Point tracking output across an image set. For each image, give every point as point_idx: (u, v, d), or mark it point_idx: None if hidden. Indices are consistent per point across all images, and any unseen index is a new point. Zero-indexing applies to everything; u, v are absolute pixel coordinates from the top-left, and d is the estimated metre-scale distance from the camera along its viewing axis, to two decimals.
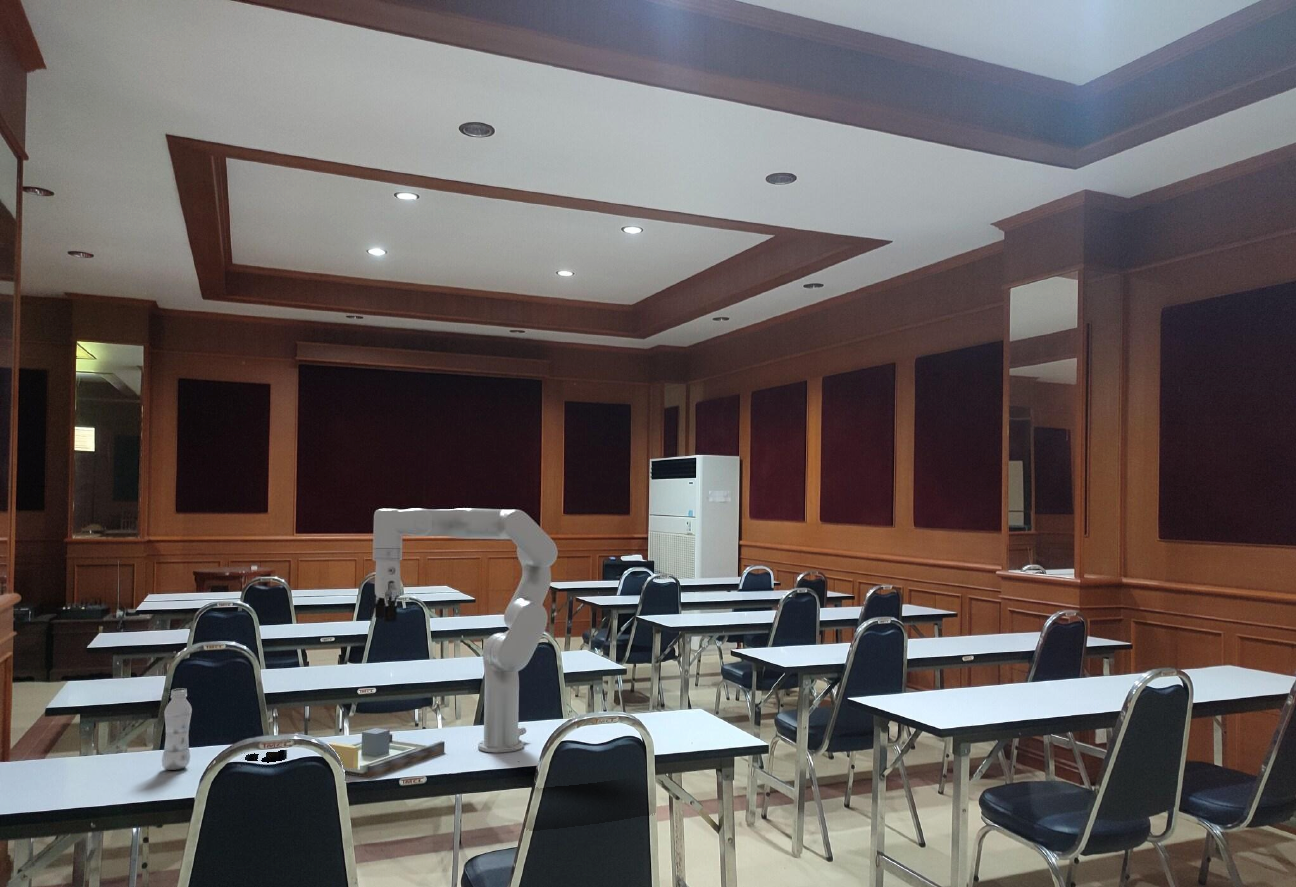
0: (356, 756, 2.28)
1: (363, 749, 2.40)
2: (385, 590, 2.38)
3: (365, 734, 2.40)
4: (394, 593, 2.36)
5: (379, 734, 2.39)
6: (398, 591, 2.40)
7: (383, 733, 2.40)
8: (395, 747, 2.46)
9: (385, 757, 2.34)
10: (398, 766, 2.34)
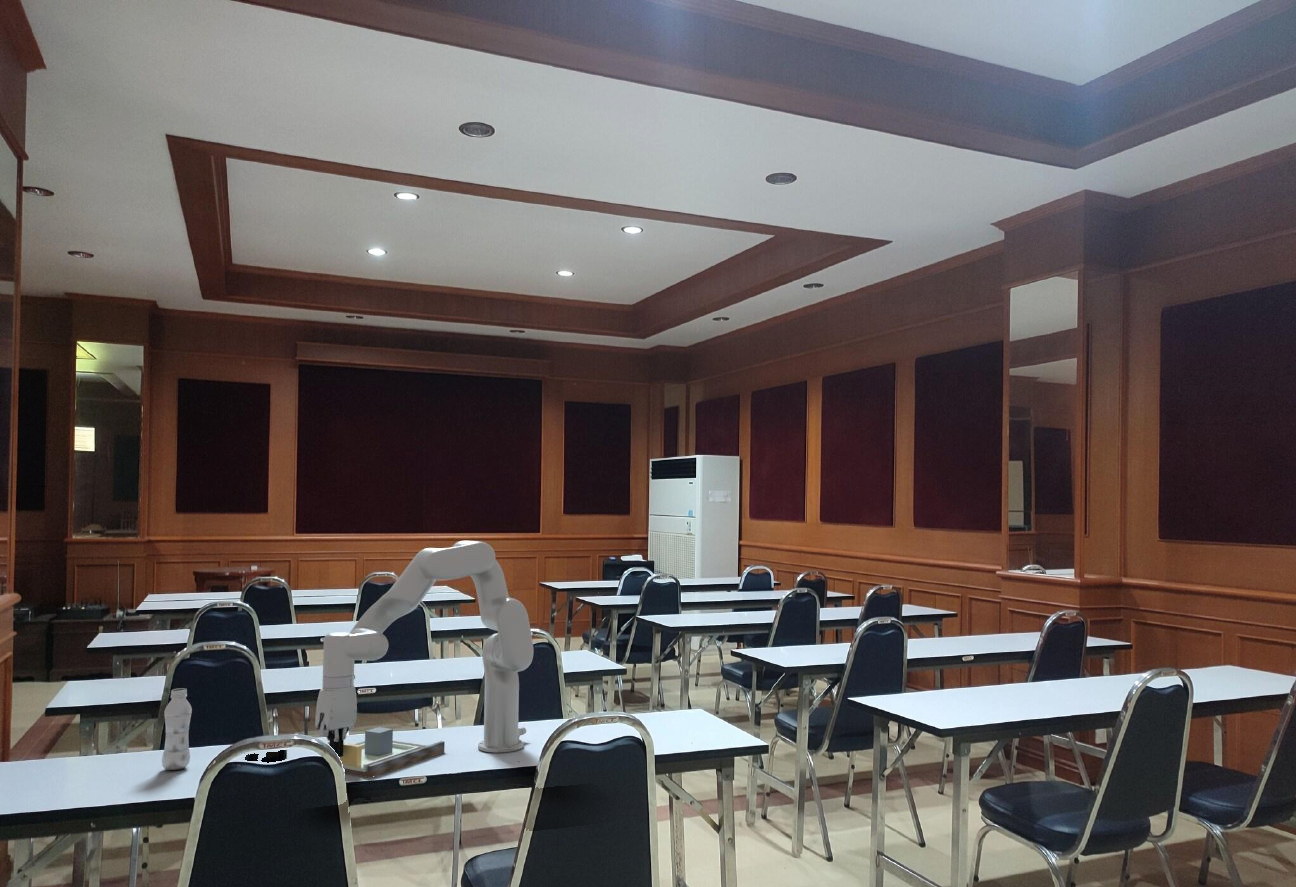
0: (359, 755, 2.29)
1: (366, 748, 2.41)
2: None
3: (369, 733, 2.41)
4: None
5: (382, 733, 2.40)
6: None
7: (386, 732, 2.42)
8: (398, 746, 2.47)
9: (388, 756, 2.35)
10: (398, 766, 2.34)
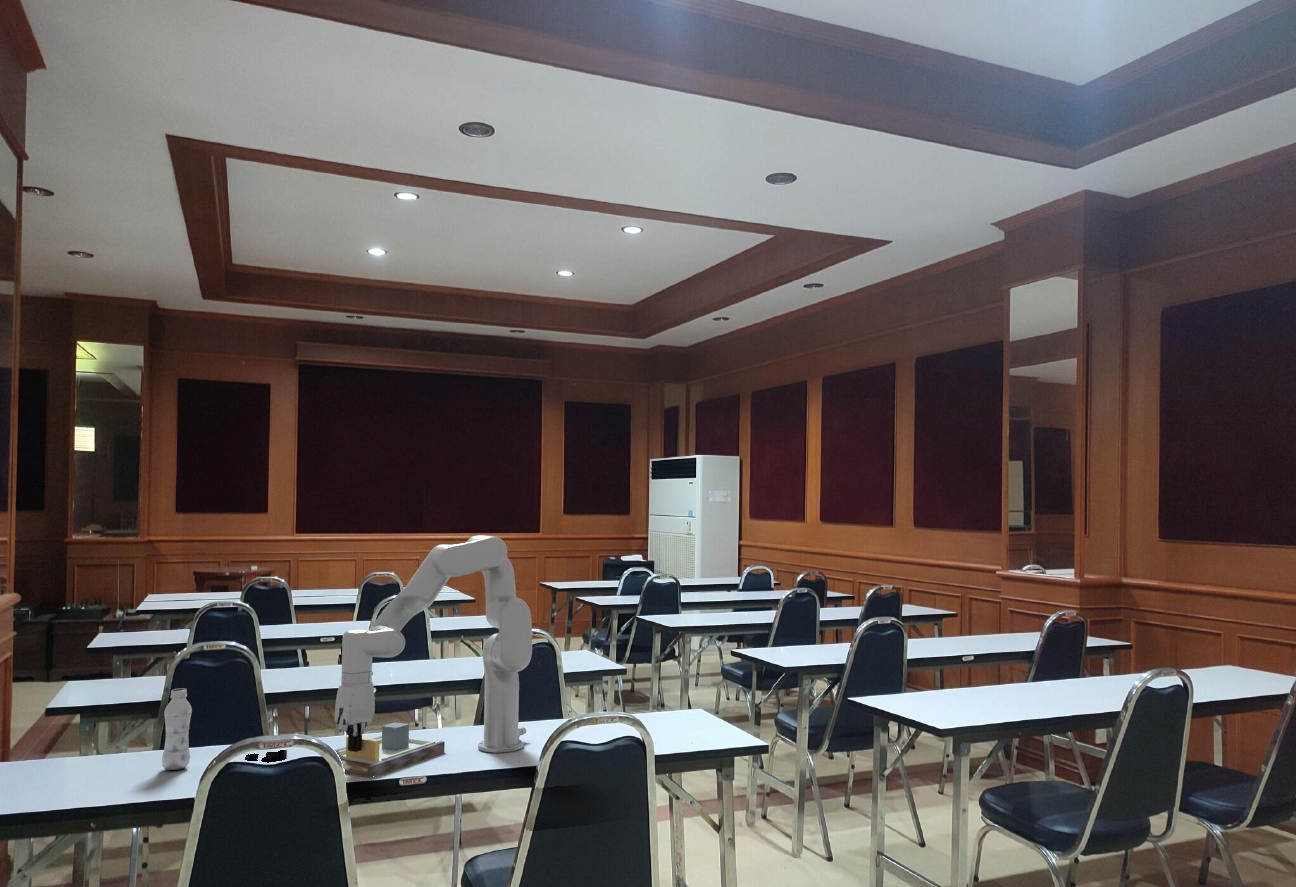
0: (377, 749, 2.35)
1: (383, 743, 2.46)
2: None
3: (386, 728, 2.46)
4: None
5: (399, 728, 2.46)
6: None
7: (403, 727, 2.47)
8: (414, 741, 2.53)
9: (405, 750, 2.40)
10: (398, 766, 2.34)
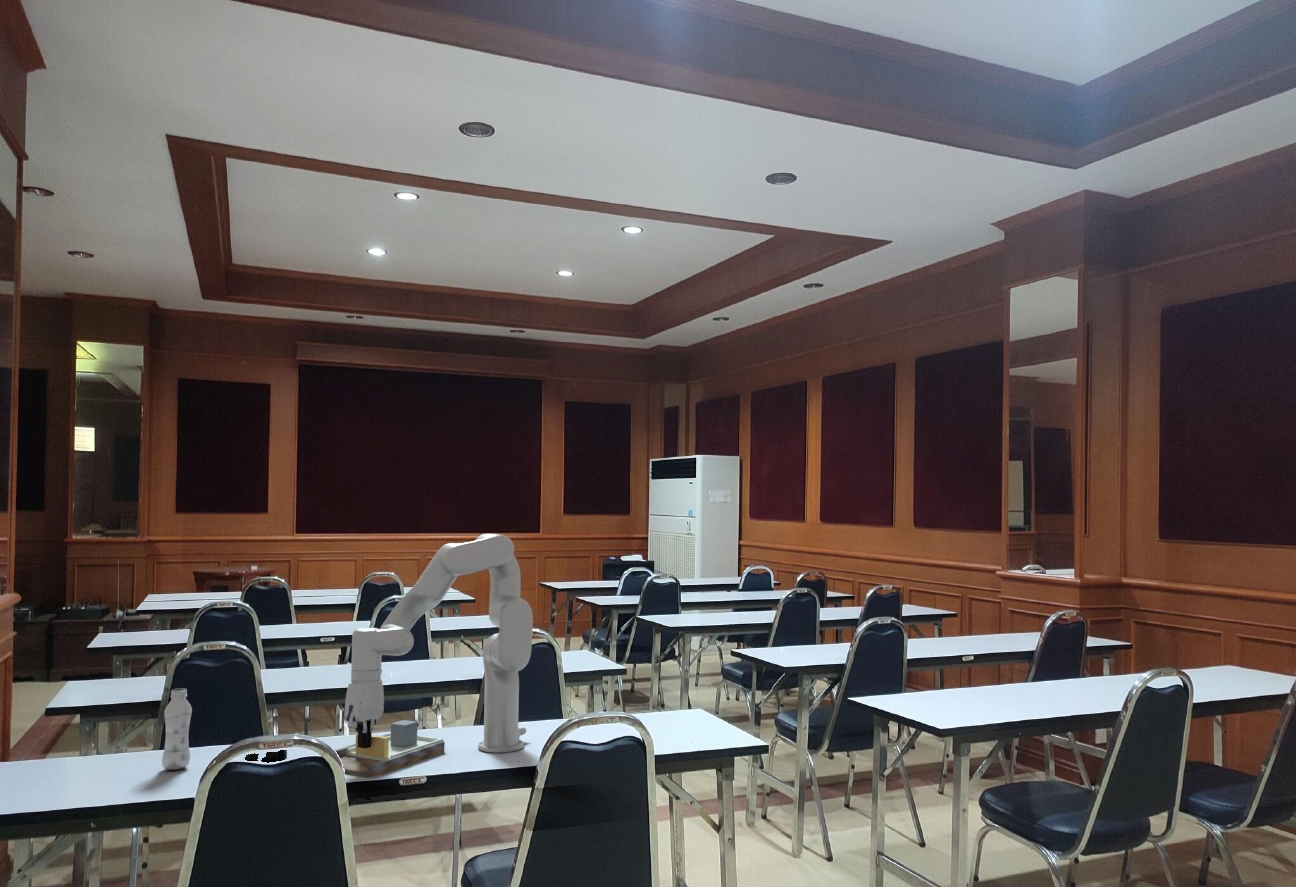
0: (387, 746, 2.38)
1: (392, 740, 2.49)
2: None
3: (394, 726, 2.49)
4: None
5: (407, 725, 2.49)
6: None
7: (411, 725, 2.50)
8: (422, 738, 2.56)
9: (414, 747, 2.43)
10: (398, 766, 2.34)
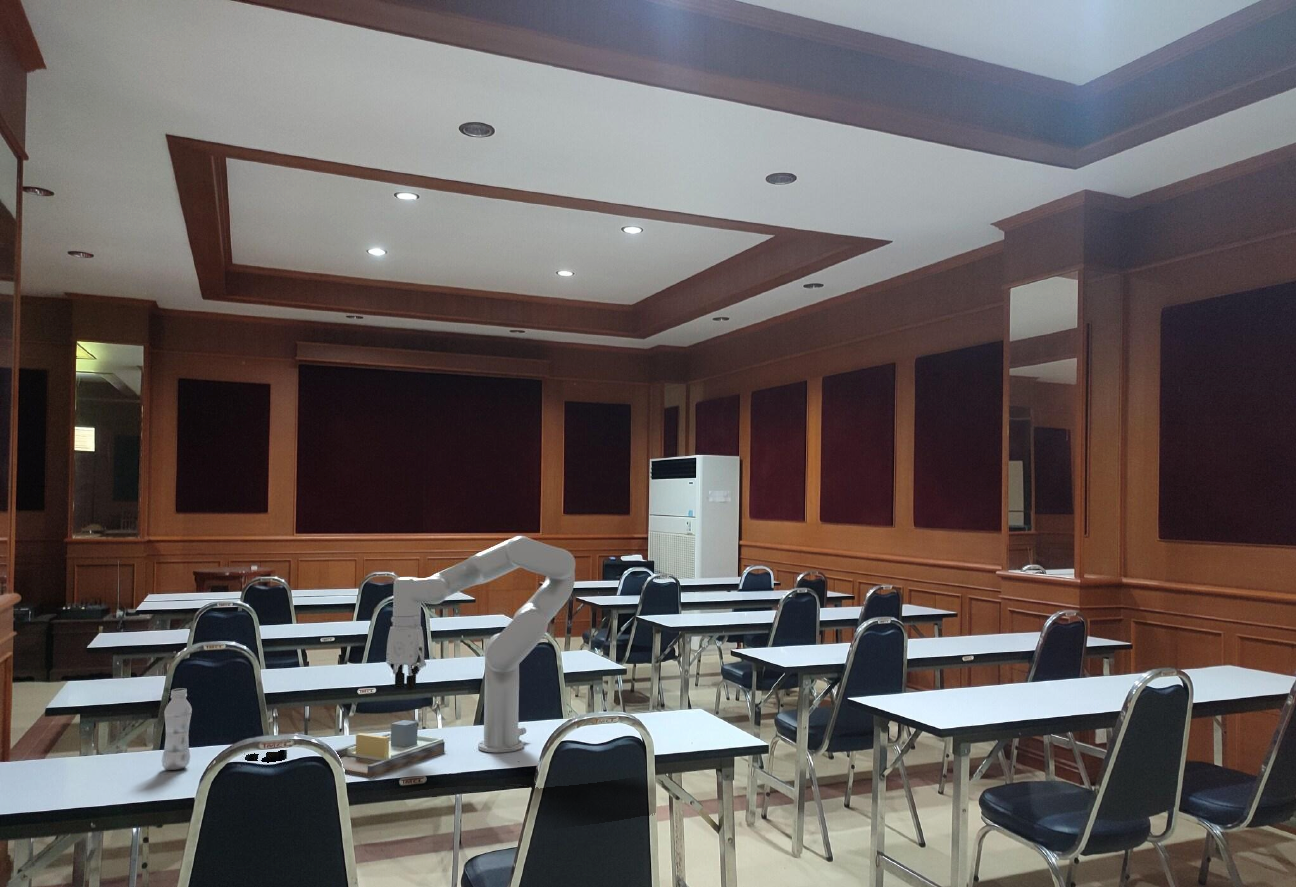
0: (387, 746, 2.38)
1: (392, 740, 2.50)
2: None
3: (395, 726, 2.50)
4: None
5: (407, 725, 2.49)
6: None
7: (411, 725, 2.50)
8: (422, 738, 2.56)
9: (414, 747, 2.44)
10: (398, 766, 2.34)
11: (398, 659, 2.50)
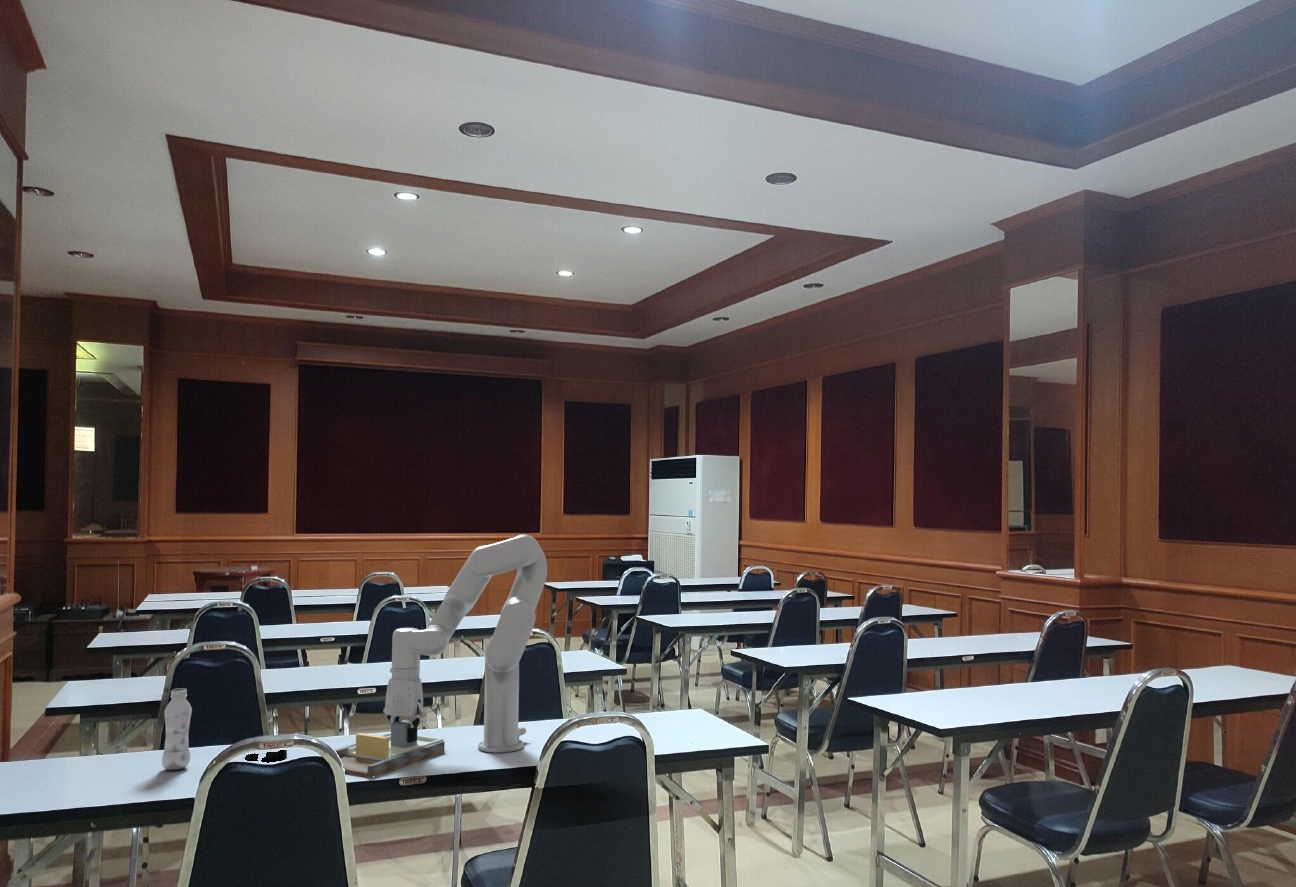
0: (387, 746, 2.38)
1: (392, 740, 2.50)
2: None
3: (395, 726, 2.50)
4: None
5: (407, 725, 2.49)
6: None
7: None
8: (422, 738, 2.56)
9: (414, 747, 2.44)
10: (398, 766, 2.34)
11: (397, 711, 2.49)
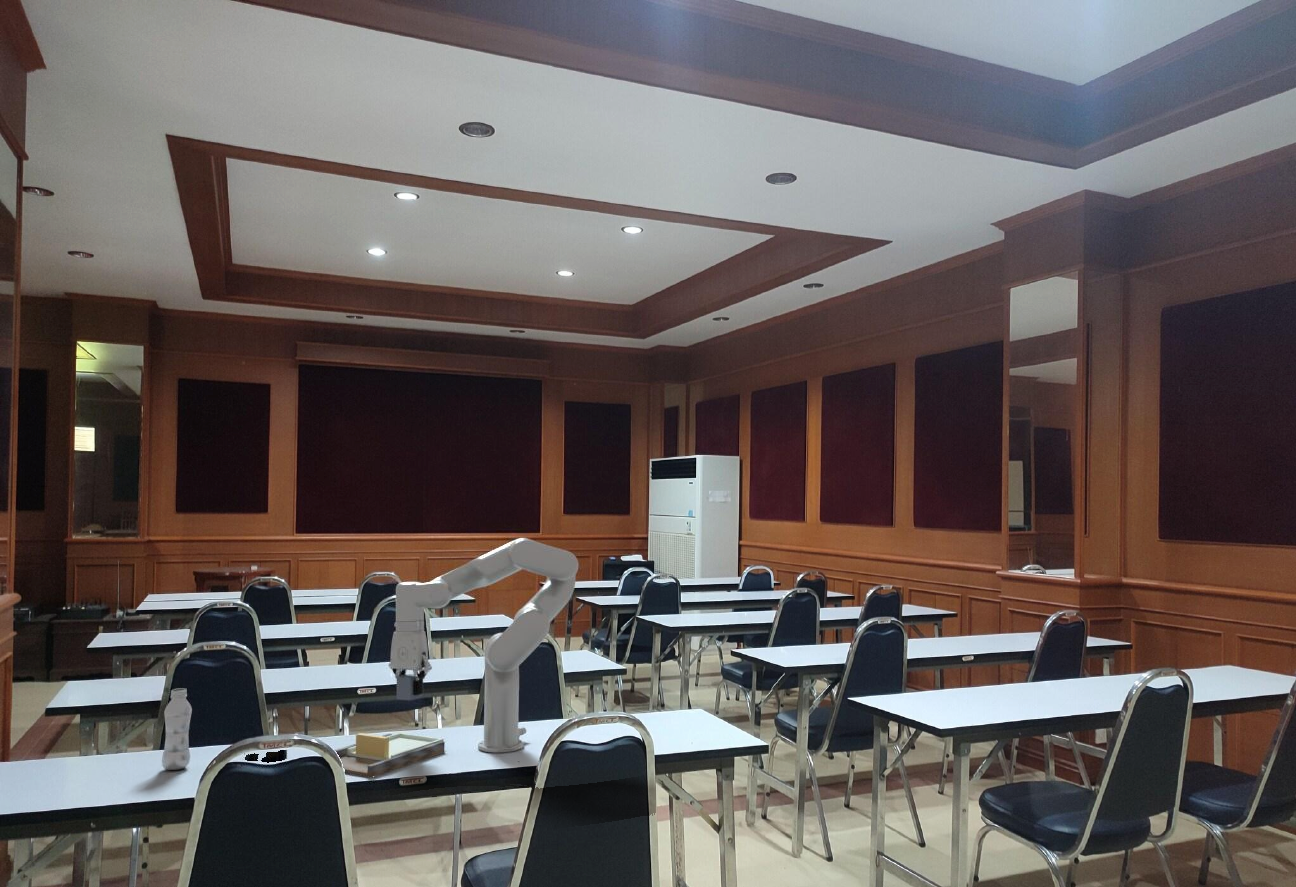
0: (387, 746, 2.38)
1: (398, 693, 2.50)
2: None
3: (400, 679, 2.50)
4: None
5: (413, 678, 2.49)
6: None
7: None
8: (422, 738, 2.56)
9: (414, 747, 2.44)
10: (398, 766, 2.34)
11: (402, 664, 2.49)
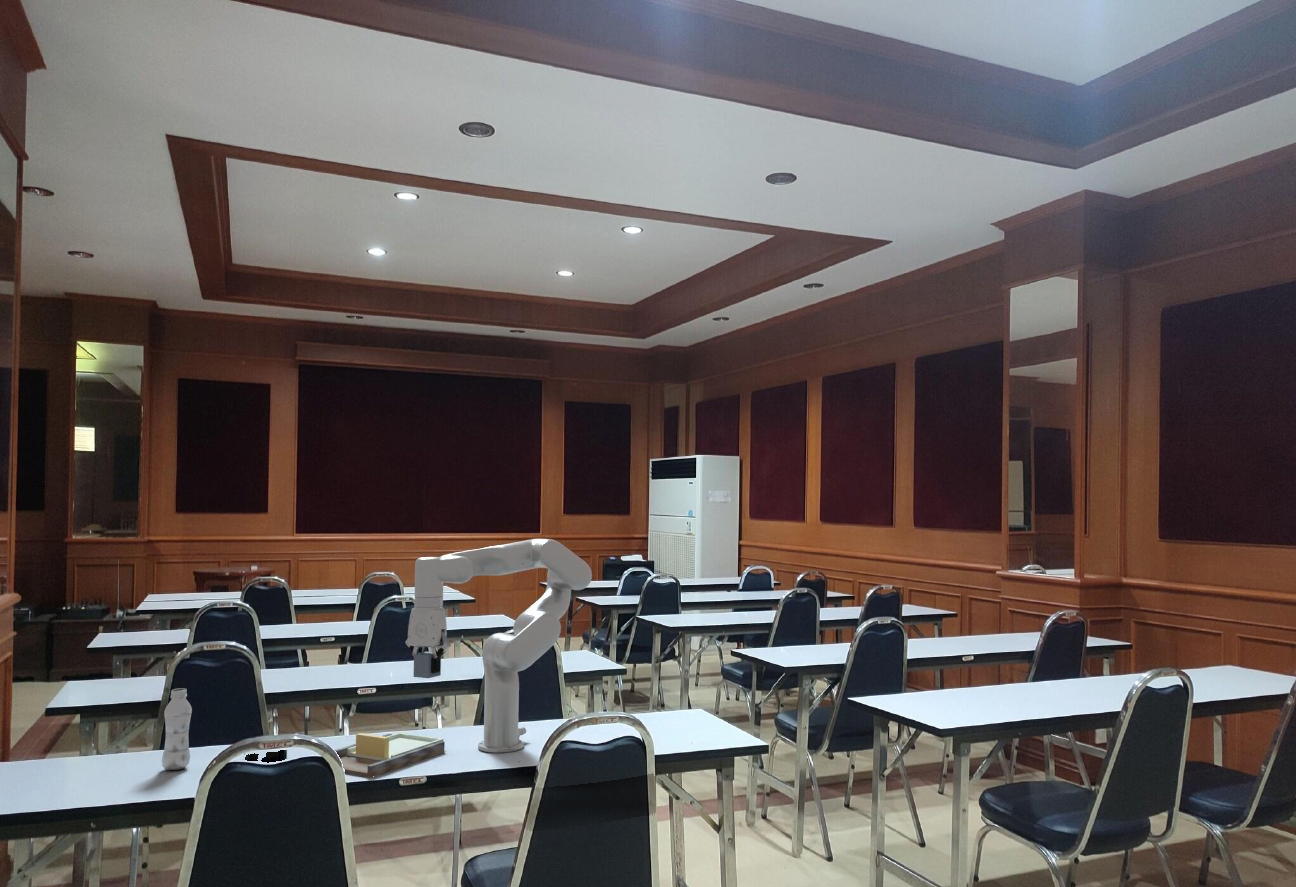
0: (387, 746, 2.38)
1: (415, 671, 2.43)
2: None
3: (418, 656, 2.43)
4: None
5: (431, 655, 2.42)
6: None
7: None
8: (422, 738, 2.56)
9: (414, 747, 2.44)
10: (398, 766, 2.34)
11: (420, 641, 2.42)
